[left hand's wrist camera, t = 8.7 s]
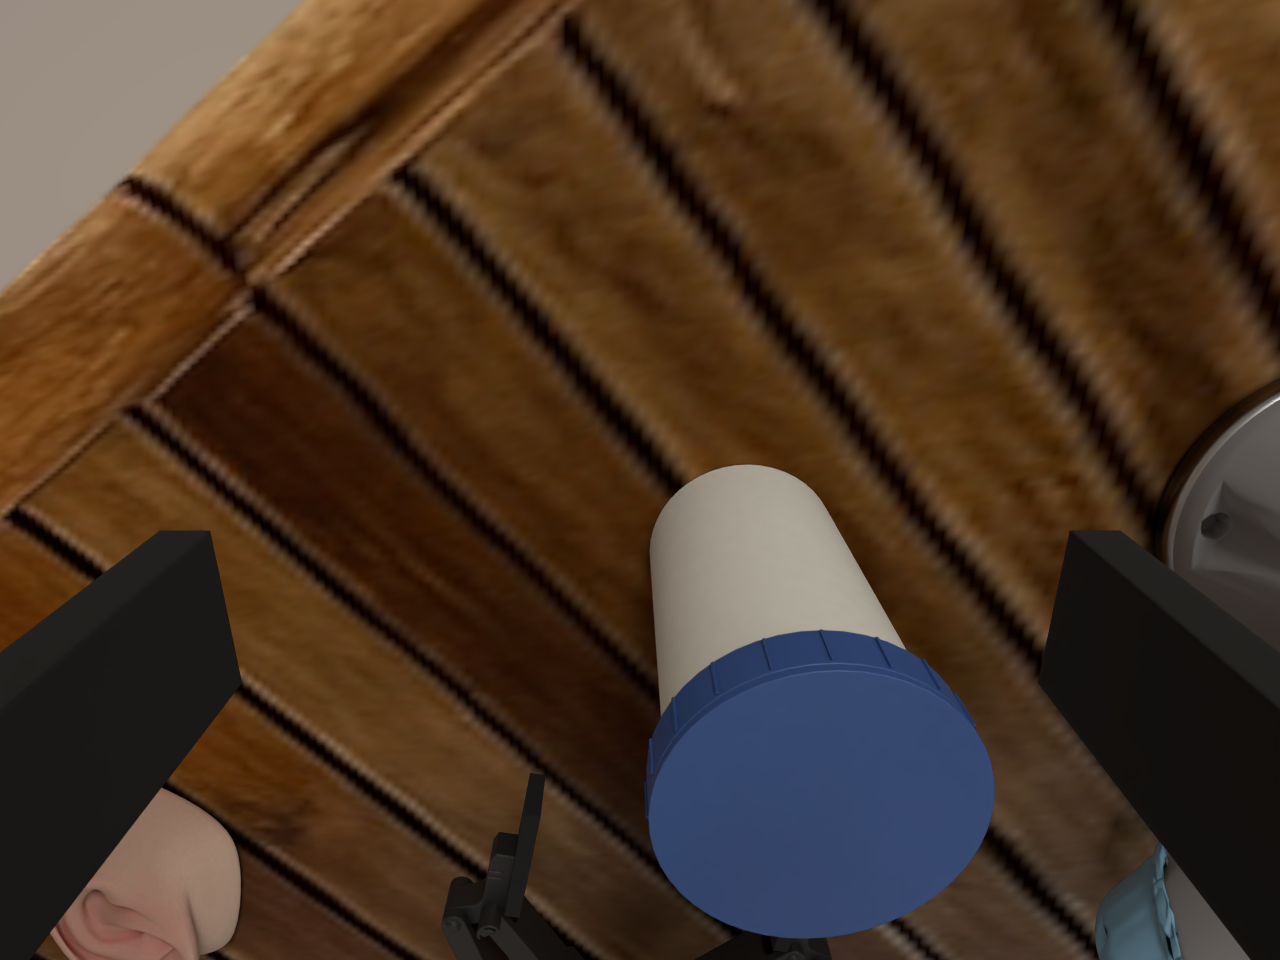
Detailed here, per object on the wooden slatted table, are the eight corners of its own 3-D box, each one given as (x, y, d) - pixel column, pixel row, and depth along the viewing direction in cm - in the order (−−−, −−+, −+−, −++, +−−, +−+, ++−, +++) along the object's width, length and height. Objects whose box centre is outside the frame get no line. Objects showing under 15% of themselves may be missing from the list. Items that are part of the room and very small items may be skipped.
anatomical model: (5, 809, 41) (237, 866, 42) (57, 754, 44) (268, 809, 46) (-16, 982, 45) (195, 1028, 47) (32, 919, 49) (226, 964, 51)
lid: (952, 592, 24) (981, 631, 22) (984, 851, 28) (1011, 904, 26) (608, 670, 25) (607, 714, 23) (686, 911, 29) (691, 967, 27)
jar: (817, 444, 39) (953, 648, 23) (847, 607, 42) (982, 882, 26) (629, 489, 39) (634, 718, 24) (673, 646, 43) (703, 937, 27)
